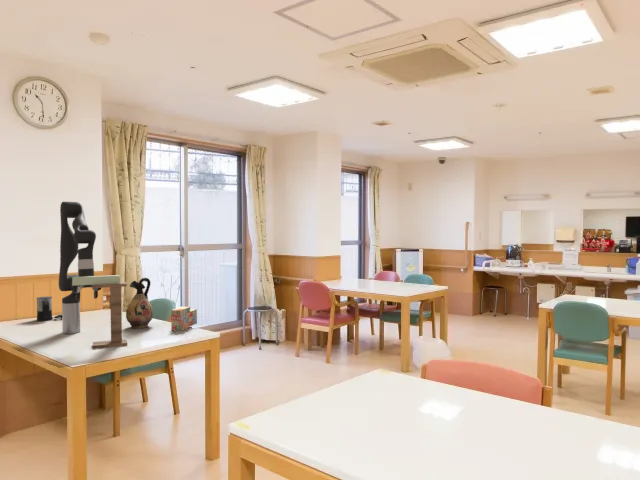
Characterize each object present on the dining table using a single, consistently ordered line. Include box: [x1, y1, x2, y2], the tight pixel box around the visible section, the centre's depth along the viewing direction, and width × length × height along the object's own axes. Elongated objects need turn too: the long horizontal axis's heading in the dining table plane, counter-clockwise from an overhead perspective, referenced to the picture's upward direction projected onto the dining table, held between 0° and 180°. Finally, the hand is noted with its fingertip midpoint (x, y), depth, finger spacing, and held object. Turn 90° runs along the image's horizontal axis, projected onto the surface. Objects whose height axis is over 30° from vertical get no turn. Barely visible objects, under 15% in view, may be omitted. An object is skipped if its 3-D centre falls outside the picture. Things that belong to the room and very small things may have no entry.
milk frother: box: [36, 296, 62, 322], centre depth 325 cm, size 14×16×15 cm
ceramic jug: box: [125, 277, 154, 329], centre depth 302 cm, size 17×15×30 cm
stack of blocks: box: [170, 306, 198, 332], centre depth 303 cm, size 21×6×12 cm, turn 168°
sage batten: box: [72, 274, 121, 286], centre depth 253 cm, size 3×22×4 cm, turn 115°
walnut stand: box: [91, 281, 128, 350], centre depth 256 cm, size 9×16×32 cm, turn 115°
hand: (87, 299), depth 259 cm, fingers open, 8 cm apart
